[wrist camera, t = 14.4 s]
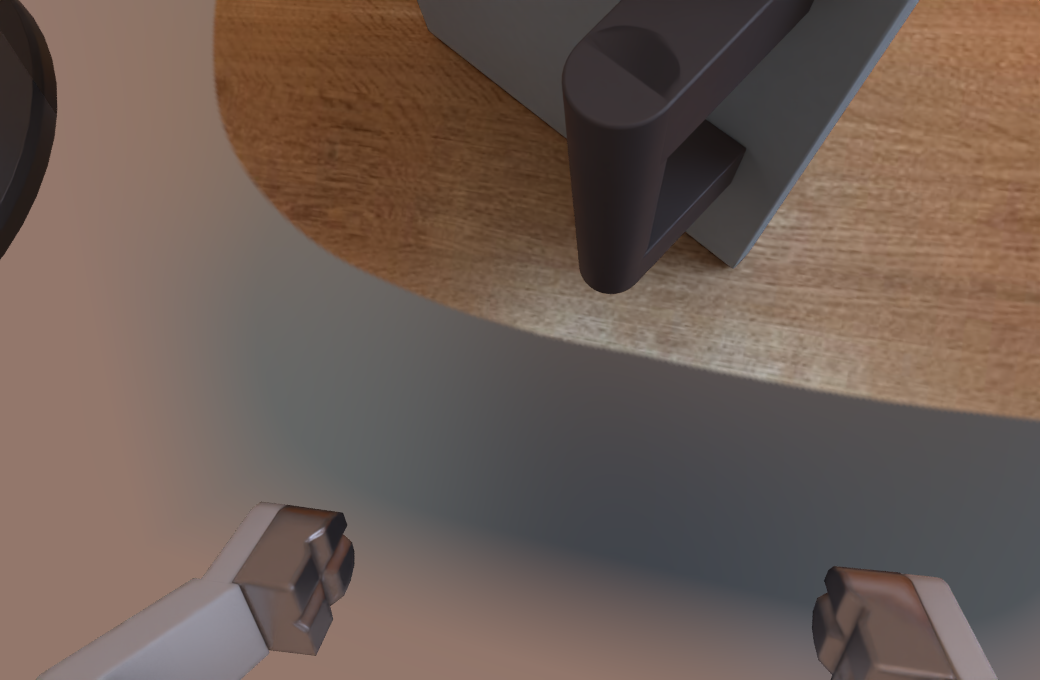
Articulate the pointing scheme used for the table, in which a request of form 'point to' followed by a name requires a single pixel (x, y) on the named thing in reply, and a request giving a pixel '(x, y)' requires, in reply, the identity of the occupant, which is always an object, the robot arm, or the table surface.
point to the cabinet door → (675, 107)
